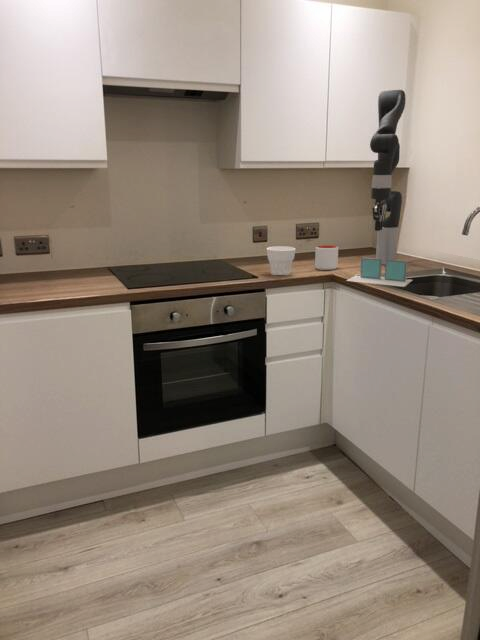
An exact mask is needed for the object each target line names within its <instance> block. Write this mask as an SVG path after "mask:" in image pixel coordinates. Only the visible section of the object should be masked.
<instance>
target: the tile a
mask: <svg viewBox="0 0 480 640" xmlns="http://www.w3.org/2000/svg"><path fill="white" fill-rule="evenodd" d="M382 268H383V267H382V259H377V258H376V257H375V258H374V257H373V258H372V257H361V263H360V275H361V276H360V277H363V278H373V279H381V277H382Z"/></svg>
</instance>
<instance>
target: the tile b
mask: <svg viewBox="0 0 480 640" xmlns="http://www.w3.org/2000/svg"><path fill="white" fill-rule="evenodd" d="M407 270H408V260H402V259H400V260H399V259H396V260H389V259H387V260H386V265H385V270H384V271H385V272H384V277H385V280H394V281H404V282H405V281H406V279H407V272H408V271H407Z"/></svg>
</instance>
